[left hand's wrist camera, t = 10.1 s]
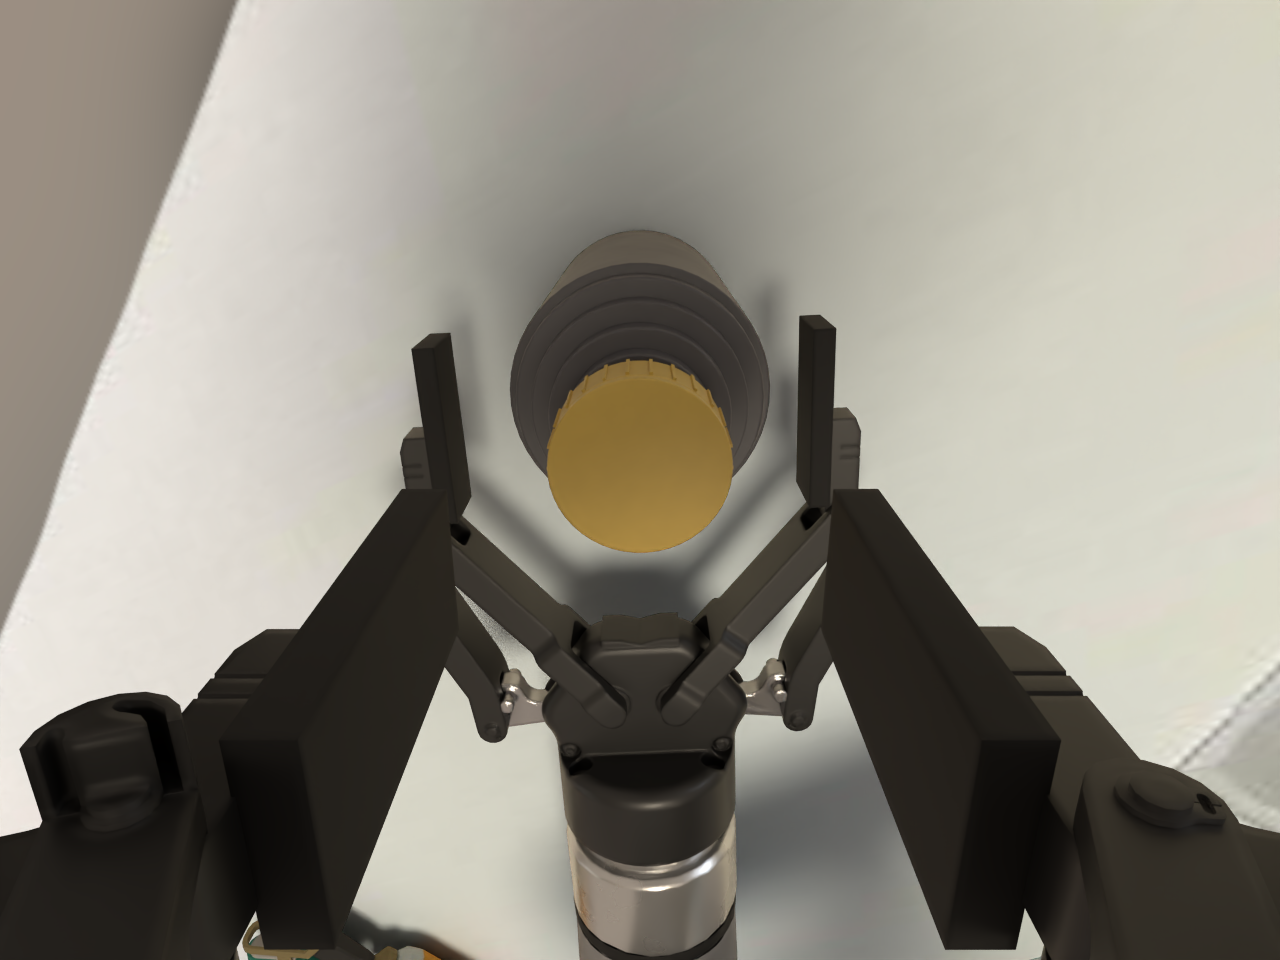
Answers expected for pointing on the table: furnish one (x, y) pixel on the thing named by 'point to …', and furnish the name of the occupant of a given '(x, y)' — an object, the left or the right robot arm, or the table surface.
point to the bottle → (640, 335)
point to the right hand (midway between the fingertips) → (623, 329)
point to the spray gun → (330, 951)
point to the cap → (639, 457)
